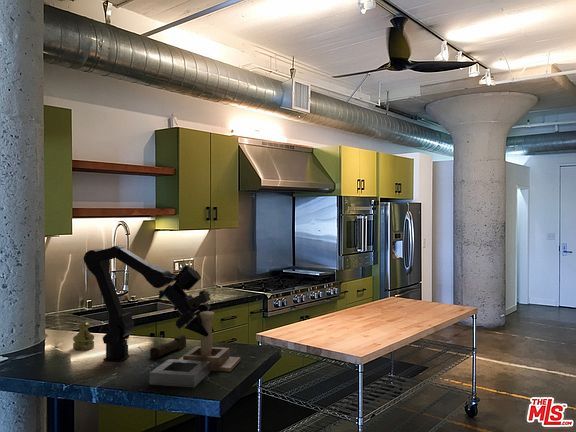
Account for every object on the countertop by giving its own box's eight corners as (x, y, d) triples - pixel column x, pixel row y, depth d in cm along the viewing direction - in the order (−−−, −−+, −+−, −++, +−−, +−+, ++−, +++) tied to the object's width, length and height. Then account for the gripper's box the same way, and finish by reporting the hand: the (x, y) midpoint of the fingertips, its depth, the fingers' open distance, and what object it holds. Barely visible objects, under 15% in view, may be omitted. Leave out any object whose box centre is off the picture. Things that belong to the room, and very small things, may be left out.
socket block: (149, 384, 148) (149, 372, 148) (169, 369, 161) (169, 359, 161) (194, 387, 145) (194, 375, 145) (210, 372, 159) (210, 361, 159)
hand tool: (158, 360, 173) (158, 346, 173) (149, 358, 175) (149, 345, 175) (191, 347, 190) (191, 335, 190) (183, 345, 192) (183, 333, 192)
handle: (215, 355, 171) (215, 311, 170) (211, 360, 164) (212, 315, 164) (201, 354, 171) (201, 311, 171) (197, 360, 164) (197, 314, 164)
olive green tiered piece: (68, 350, 184) (68, 323, 184) (81, 345, 191) (81, 319, 191) (86, 351, 182) (86, 324, 182) (98, 346, 189) (98, 320, 189)
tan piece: (171, 367, 163) (171, 355, 163) (185, 357, 175) (185, 345, 175) (230, 371, 160) (230, 358, 160) (240, 360, 171) (240, 348, 171)
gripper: (185, 287, 159) (218, 324, 157) (205, 279, 177) (234, 312, 175) (161, 310, 160) (194, 347, 158) (184, 300, 179) (213, 333, 177)
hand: (210, 333), depth 167 cm, fingers closed on handle, 5 cm apart
